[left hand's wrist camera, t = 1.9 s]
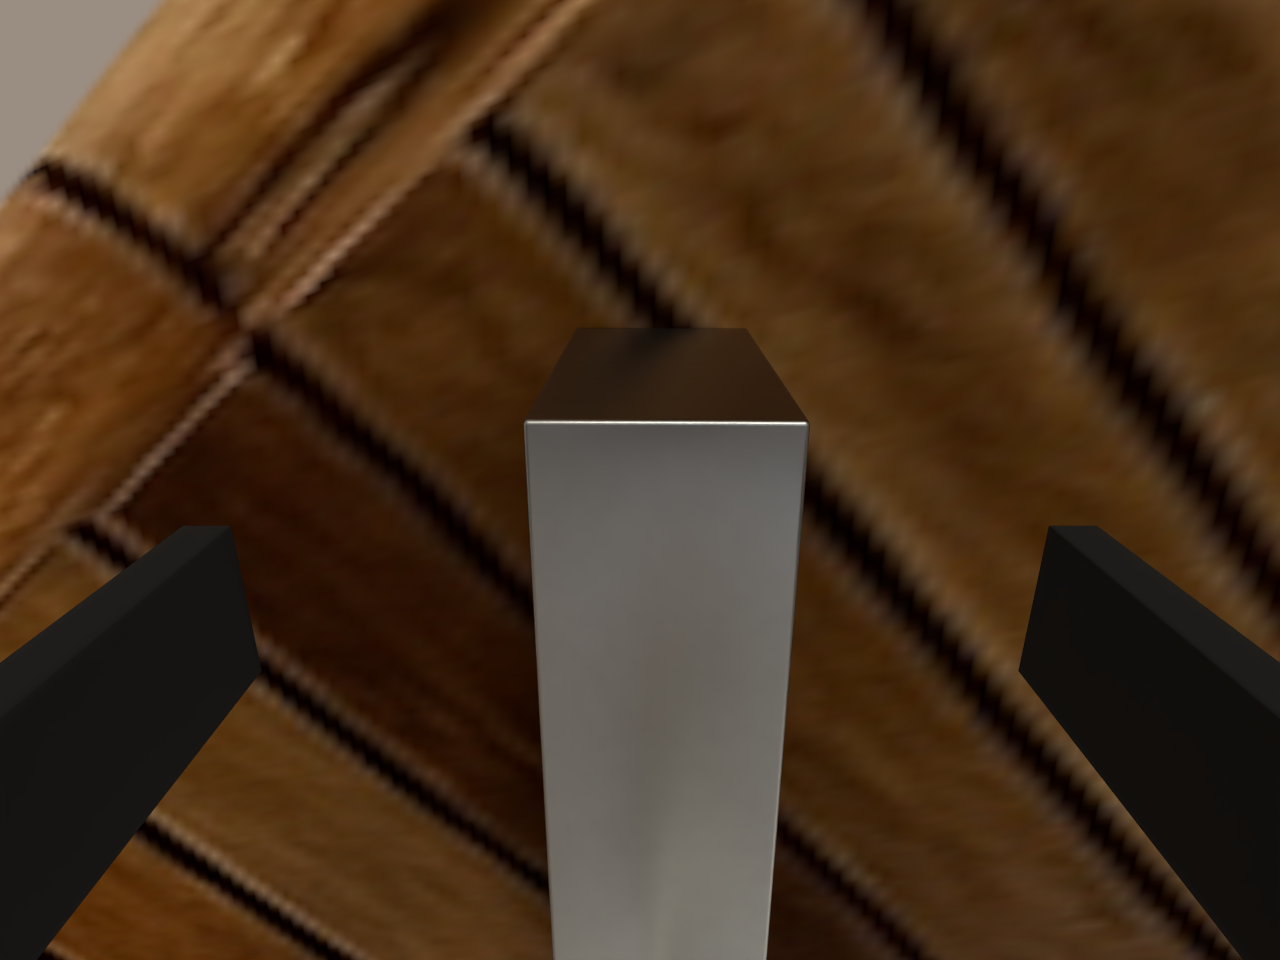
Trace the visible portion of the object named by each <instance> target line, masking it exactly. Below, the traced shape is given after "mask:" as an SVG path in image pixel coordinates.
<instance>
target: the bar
mask: <svg viewBox="0 0 1280 960" xmlns="http://www.w3.org/2000/svg"><path fill="white" fill-rule="evenodd" d="M523 429H524V447H525V465H526V483H527V501H528V519H529V537H530V555H531V573H532V591H533V609H534V627H535V645H536V663H537V681H538V699H539V717H540V735H541V753H542V771H543V789H544V807H545V825H546V843H547V862H548V880H549V898H550V916H551V934H552V952H553V960H767V948H768V935H769V923H770V911H771V898H772V886H773V874H774V861H775V849H776V837H777V824H778V812H779V800H780V787H781V775H782V763H783V750H784V738H785V725H786V713H787V701H788V688H789V676H790V664H791V651H792V639H793V627H794V614H795V602H796V590H797V577H798V565H799V553H800V540H801V528H802V516H803V503H804V491H805V478H806V466H807V454H808V441H809V429H810V424H809V421H808V420H807V418H806V417H805V415H804V414H803V412H802V411H801V409H800V408H799V406H798V405H797V403H796V402H795V400H794V399H793V397H792V396H791V394H790V393H789V391H788V390H787V389H786V387H785V386H784V384H783V383H782V381H781V380H780V378H779V377H778V375H777V374H776V372H775V371H774V369H773V368H772V366H771V365H770V363H769V362H768V360H767V359H766V357H765V356H764V354H763V353H762V351H761V350H760V348H759V347H758V345H757V344H756V342H755V341H754V339H753V338H752V336H751V335H750V333H749V332H748V330H747V329H726V328H578V329H576V331H575V332H574V334H573V336H572V338H571V339H570V341H569V343H568V345H567V346H566V348H565V350H564V352H563V353H562V355H561V357H560V359H559V360H558V362H557V364H556V366H555V367H554V369H553V371H552V373H551V374H550V376H549V378H548V380H547V381H546V383H545V385H544V387H543V388H542V390H541V392H540V394H539V395H538V397H537V399H536V401H535V402H534V404H533V406H532V408H531V409H530V411H529V413H528V415H527V417H526V418H525V420H524V423H523Z"/></svg>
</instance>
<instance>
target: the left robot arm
mask: <svg viewBox="0 0 1280 960" xmlns="http://www.w3.org/2000/svg"><path fill="white" fill-rule="evenodd" d="M260 672H261V666H260V662H259V657H258V652H257V647H256V643H255V638H254V633H253V628H252V624H251V619H250V614H249V609H248V605H247V600H246V595H245V590H244V586H243V581H242V576H241V571H240V567H239V562H238V557H237V552H236V548H235V543H234V538H233V533H232V529H231V526H182V527H181V528H180V529H178V530H177V531H176V532H174V533H173V534H172V535H170V536H169V537H168V538H166V539H165V540H164V541H162V542H161V543H160V544H158V545H157V546H156V547H154V548H153V549H152V550H150V551H149V552H148V553H146V554H145V555H144V556H142V557H141V558H140V559H138V560H137V561H136V562H134V563H133V564H132V565H130V566H129V567H128V568H126V569H125V570H124V571H122V572H121V573H120V574H118V575H117V576H116V577H114V578H113V579H112V580H110V581H109V582H108V583H106V584H105V585H104V586H102V587H101V588H100V589H98V590H97V591H96V592H94V593H93V594H91V595H90V596H89V597H87V598H86V599H85V600H83V601H82V602H81V603H79V604H78V605H77V606H75V607H74V608H73V609H71V610H70V611H69V612H67V613H66V614H65V615H63V616H62V617H61V618H59V619H58V620H57V621H55V622H54V623H53V624H51V625H50V626H49V627H47V628H46V629H45V630H43V631H42V632H41V633H39V634H38V635H37V636H35V637H34V638H33V639H31V640H30V641H29V642H27V643H26V644H25V645H23V646H22V647H21V648H19V649H18V650H17V651H15V652H14V653H13V654H11V655H10V656H9V657H7V658H6V659H5V660H3V661H2V662H1V663H0V960H37V959H38V958H39V956H40V955H41V954H42V952H43V951H44V950H45V949H46V947H47V946H48V945H49V943H50V942H51V941H52V940H53V938H54V937H55V936H56V934H57V933H58V932H59V931H60V929H61V928H62V927H63V925H64V924H65V923H66V922H67V920H68V919H69V918H70V916H71V915H72V914H73V913H74V911H75V910H76V909H77V907H78V906H79V905H80V904H81V902H82V901H83V900H84V898H85V897H86V896H87V895H88V893H89V892H90V891H91V889H92V888H93V887H94V886H95V884H96V883H97V882H98V880H99V879H100V878H101V877H102V875H103V874H104V873H105V871H106V870H107V869H108V868H109V866H110V865H111V864H112V862H113V861H114V860H115V859H116V857H117V856H118V855H119V853H120V852H121V851H122V850H123V848H124V847H125V846H126V844H127V843H128V842H129V841H130V839H131V838H132V837H133V835H134V834H135V833H136V832H137V830H138V829H139V828H140V826H141V825H142V824H143V823H144V821H145V820H146V819H147V817H148V816H149V815H150V814H151V812H152V811H153V810H154V808H155V807H156V806H157V805H158V803H159V802H160V801H161V799H162V798H163V797H164V796H165V794H166V793H167V792H168V790H169V789H170V788H171V787H172V785H173V784H174V783H175V781H176V780H177V779H178V778H179V776H180V775H181V774H182V772H183V771H184V770H185V769H186V767H187V766H188V765H189V763H190V762H191V761H192V760H193V758H194V757H195V756H196V754H197V753H198V752H199V751H200V749H201V748H202V747H203V745H204V744H205V743H206V742H207V740H208V739H209V738H210V736H211V735H212V734H213V732H214V731H215V730H216V729H217V727H218V726H219V725H220V723H221V722H222V721H223V720H224V718H225V717H226V716H227V714H228V713H229V712H230V711H231V709H232V708H233V707H234V705H235V704H236V703H237V702H238V700H239V699H240V698H241V696H242V695H243V694H244V693H245V691H246V690H247V689H248V687H249V686H250V685H251V684H252V682H253V681H254V680H255V678H256V677H257V676H258V675H259V673H260ZM1019 672H1020V673H1021V675H1022V676H1023V677H1024V678H1025V680H1026V681H1027V682H1028V684H1029V685H1030V686H1031V688H1032V689H1033V690H1034V691H1035V693H1036V694H1037V695H1038V697H1039V698H1040V699H1041V700H1042V702H1043V703H1044V704H1045V706H1046V707H1047V708H1048V709H1049V711H1050V712H1051V713H1052V715H1053V716H1054V717H1055V718H1056V720H1057V721H1058V722H1059V724H1060V725H1061V726H1062V727H1063V729H1064V730H1065V731H1066V733H1067V734H1068V735H1069V736H1070V738H1071V739H1072V740H1073V742H1074V743H1075V744H1076V745H1077V747H1078V748H1079V749H1080V751H1081V752H1082V753H1083V754H1084V756H1085V757H1086V758H1087V760H1088V761H1089V762H1090V763H1091V765H1092V766H1093V767H1094V769H1095V770H1096V771H1097V772H1098V774H1099V775H1100V776H1101V778H1102V779H1103V780H1104V781H1105V783H1106V784H1107V785H1108V787H1109V788H1110V789H1111V790H1112V792H1113V793H1114V794H1115V796H1116V797H1117V798H1118V799H1119V801H1120V802H1121V803H1122V805H1123V806H1124V807H1125V808H1126V810H1127V811H1128V812H1129V814H1130V815H1131V816H1132V817H1133V819H1134V820H1135V821H1136V823H1137V824H1138V825H1139V826H1140V828H1141V829H1142V830H1143V832H1144V833H1145V834H1146V835H1147V837H1148V838H1149V839H1150V841H1151V842H1152V843H1153V844H1154V846H1155V847H1156V848H1157V850H1158V851H1159V852H1160V853H1161V855H1162V856H1163V857H1164V859H1165V860H1166V861H1167V862H1168V864H1169V865H1170V866H1171V868H1172V869H1173V870H1174V871H1175V873H1176V874H1177V875H1178V877H1179V878H1180V879H1181V880H1182V882H1183V883H1184V884H1185V886H1186V887H1187V888H1188V889H1189V891H1190V892H1191V893H1192V895H1193V896H1194V897H1195V898H1196V900H1197V901H1198V902H1199V904H1200V905H1201V906H1202V907H1203V909H1204V910H1205V911H1206V913H1207V914H1208V915H1209V916H1210V918H1211V919H1212V920H1213V922H1214V923H1215V924H1216V925H1217V927H1218V928H1219V929H1220V931H1221V932H1222V933H1223V934H1224V936H1225V937H1226V938H1227V940H1228V941H1229V942H1230V943H1231V945H1232V946H1233V947H1234V949H1235V950H1236V951H1237V952H1238V954H1239V955H1240V956H1241V958H1242V959H1243V960H1280V663H1279V662H1278V661H1277V660H1275V659H1274V658H1273V657H1271V656H1270V655H1269V654H1267V653H1266V652H1265V651H1263V650H1262V649H1261V648H1259V647H1258V646H1257V645H1255V644H1254V643H1253V642H1251V641H1250V640H1249V639H1247V638H1246V637H1245V636H1243V635H1242V634H1241V633H1239V632H1238V631H1237V630H1235V629H1234V628H1233V627H1231V626H1230V625H1229V624H1227V623H1226V622H1225V621H1223V620H1222V619H1221V618H1219V617H1218V616H1217V615H1215V614H1214V613H1213V612H1211V611H1210V610H1209V609H1207V608H1206V607H1205V606H1203V605H1202V604H1201V603H1199V602H1198V601H1197V600H1195V599H1194V598H1193V597H1191V596H1190V595H1189V594H1187V593H1186V592H1184V591H1183V590H1182V589H1180V588H1179V587H1178V586H1176V585H1175V584H1174V583H1172V582H1171V581H1170V580H1168V579H1167V578H1166V577H1164V576H1163V575H1162V574H1160V573H1159V572H1158V571H1156V570H1155V569H1154V568H1152V567H1151V566H1150V565H1148V564H1147V563H1146V562H1144V561H1143V560H1142V559H1140V558H1139V557H1138V556H1136V555H1135V554H1134V553H1132V552H1131V551H1130V550H1128V549H1127V548H1126V547H1124V546H1123V545H1122V544H1120V543H1119V542H1118V541H1116V540H1115V539H1114V538H1112V537H1111V536H1110V535H1108V534H1107V533H1106V532H1104V531H1103V530H1102V529H1100V528H1099V527H1098V526H1049V529H1048V533H1047V538H1046V543H1045V548H1044V552H1043V557H1042V562H1041V567H1040V571H1039V576H1038V581H1037V586H1036V590H1035V595H1034V600H1033V605H1032V609H1031V614H1030V619H1029V624H1028V628H1027V633H1026V638H1025V643H1024V647H1023V652H1022V657H1021V662H1020V666H1019Z"/></svg>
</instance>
